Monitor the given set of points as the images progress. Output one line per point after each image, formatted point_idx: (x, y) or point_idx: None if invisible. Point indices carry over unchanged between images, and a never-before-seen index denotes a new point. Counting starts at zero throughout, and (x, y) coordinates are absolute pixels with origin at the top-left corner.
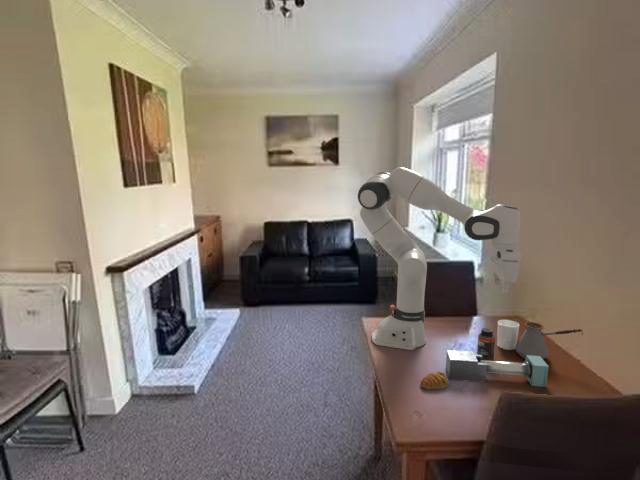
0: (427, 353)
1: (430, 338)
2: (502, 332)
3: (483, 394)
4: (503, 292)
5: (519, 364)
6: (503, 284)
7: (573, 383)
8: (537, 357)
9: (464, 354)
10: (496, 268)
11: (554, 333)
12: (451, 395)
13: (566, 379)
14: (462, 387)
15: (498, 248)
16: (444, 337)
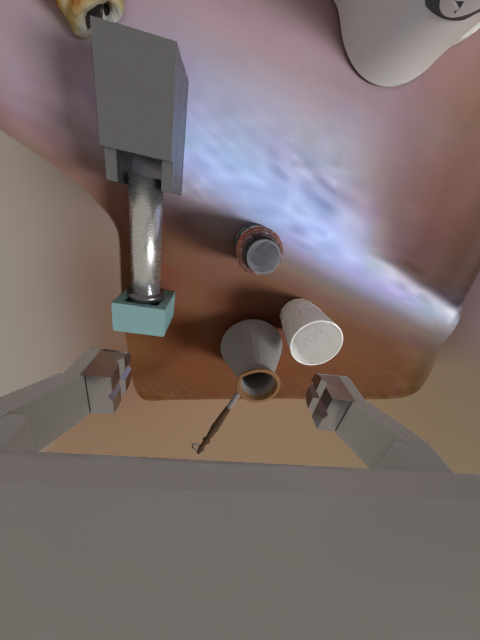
0: (292, 51)
1: (388, 116)
2: (299, 315)
3: (65, 147)
4: (93, 350)
5: (137, 278)
6: (1, 400)
7: (152, 357)
8: (155, 328)
9: (146, 113)
10: (284, 631)
11: (227, 405)
12: (28, 25)
13: (165, 354)
14: (87, 94)
15: None
16: (379, 173)
